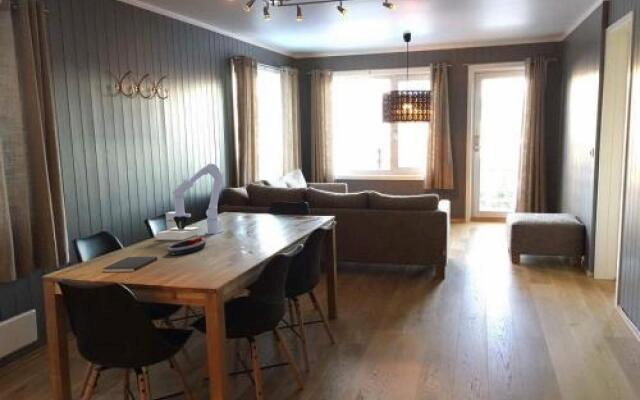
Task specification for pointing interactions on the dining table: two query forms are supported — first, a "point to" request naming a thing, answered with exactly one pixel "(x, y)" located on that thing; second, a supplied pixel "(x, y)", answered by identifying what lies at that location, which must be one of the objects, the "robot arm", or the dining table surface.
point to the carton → (176, 235)
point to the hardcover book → (130, 264)
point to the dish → (186, 246)
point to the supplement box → (170, 221)
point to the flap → (184, 228)
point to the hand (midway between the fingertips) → (181, 228)
